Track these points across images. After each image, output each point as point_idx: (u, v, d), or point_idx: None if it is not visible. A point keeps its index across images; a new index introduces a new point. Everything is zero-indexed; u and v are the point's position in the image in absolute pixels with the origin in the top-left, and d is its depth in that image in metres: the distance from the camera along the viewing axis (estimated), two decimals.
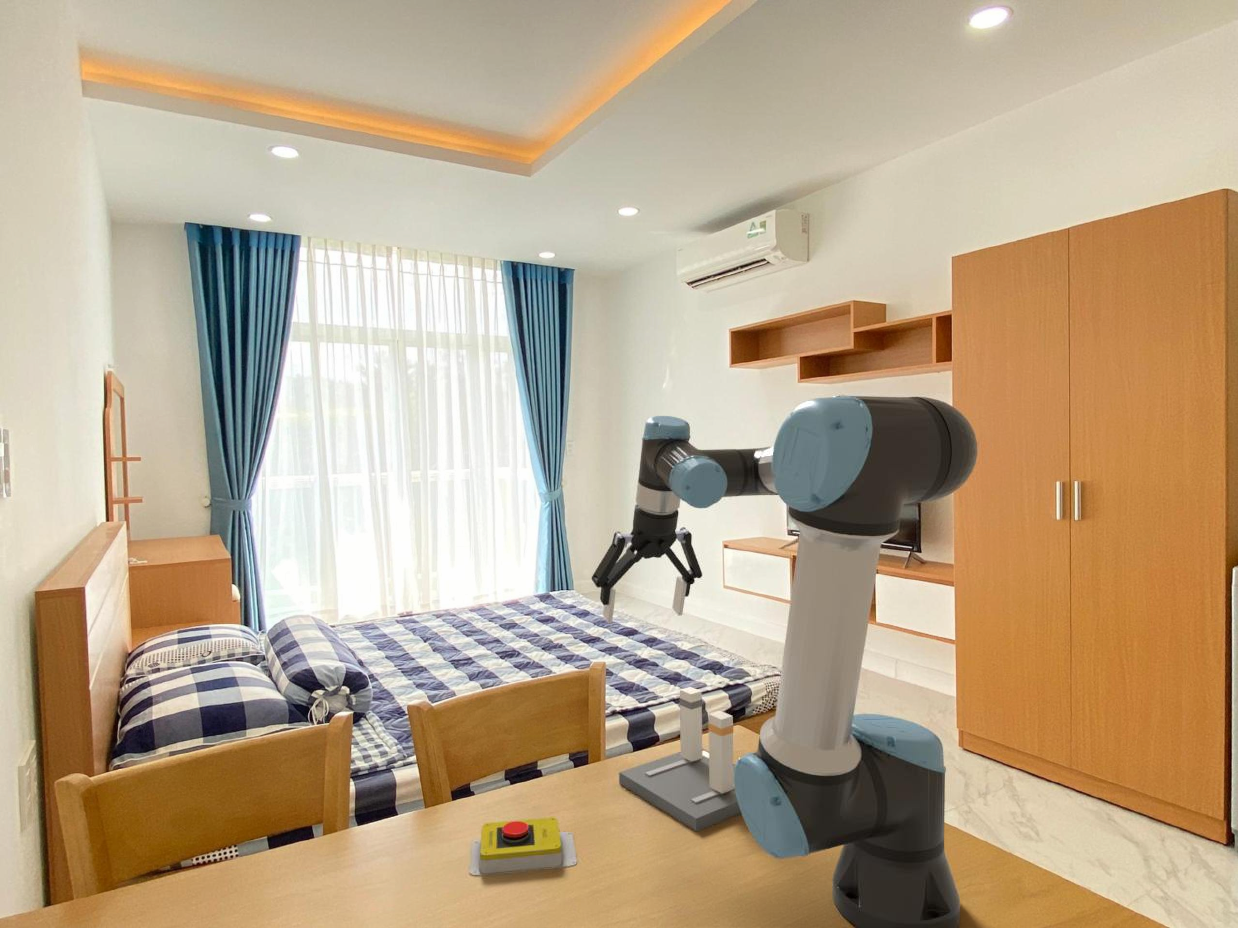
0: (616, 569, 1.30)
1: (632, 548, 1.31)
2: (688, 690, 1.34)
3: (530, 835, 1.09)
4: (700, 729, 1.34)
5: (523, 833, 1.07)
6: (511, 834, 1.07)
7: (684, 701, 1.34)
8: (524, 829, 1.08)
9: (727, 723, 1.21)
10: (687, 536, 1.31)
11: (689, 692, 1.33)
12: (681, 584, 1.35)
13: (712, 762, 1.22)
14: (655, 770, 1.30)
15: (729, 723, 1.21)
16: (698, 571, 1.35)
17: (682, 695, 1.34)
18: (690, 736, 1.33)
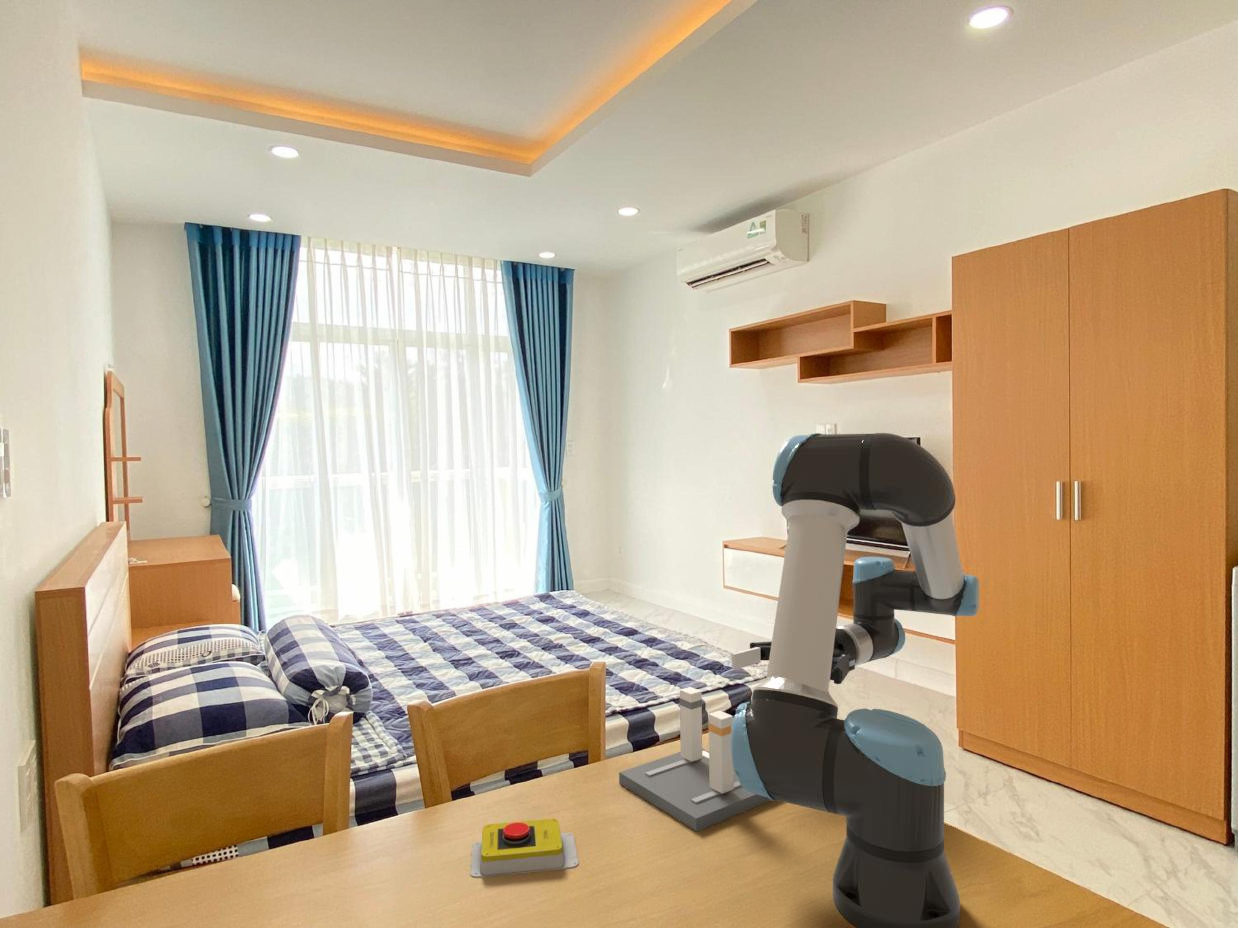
0: None
1: None
2: (688, 690, 1.34)
3: (531, 836, 1.08)
4: (700, 729, 1.34)
5: (524, 834, 1.07)
6: (512, 835, 1.07)
7: (684, 701, 1.34)
8: (525, 830, 1.08)
9: (727, 723, 1.21)
10: (849, 654, 1.32)
11: (689, 692, 1.33)
12: None
13: (712, 762, 1.22)
14: (655, 770, 1.30)
15: (729, 723, 1.21)
16: (839, 666, 1.25)
17: (682, 695, 1.34)
18: (690, 736, 1.33)
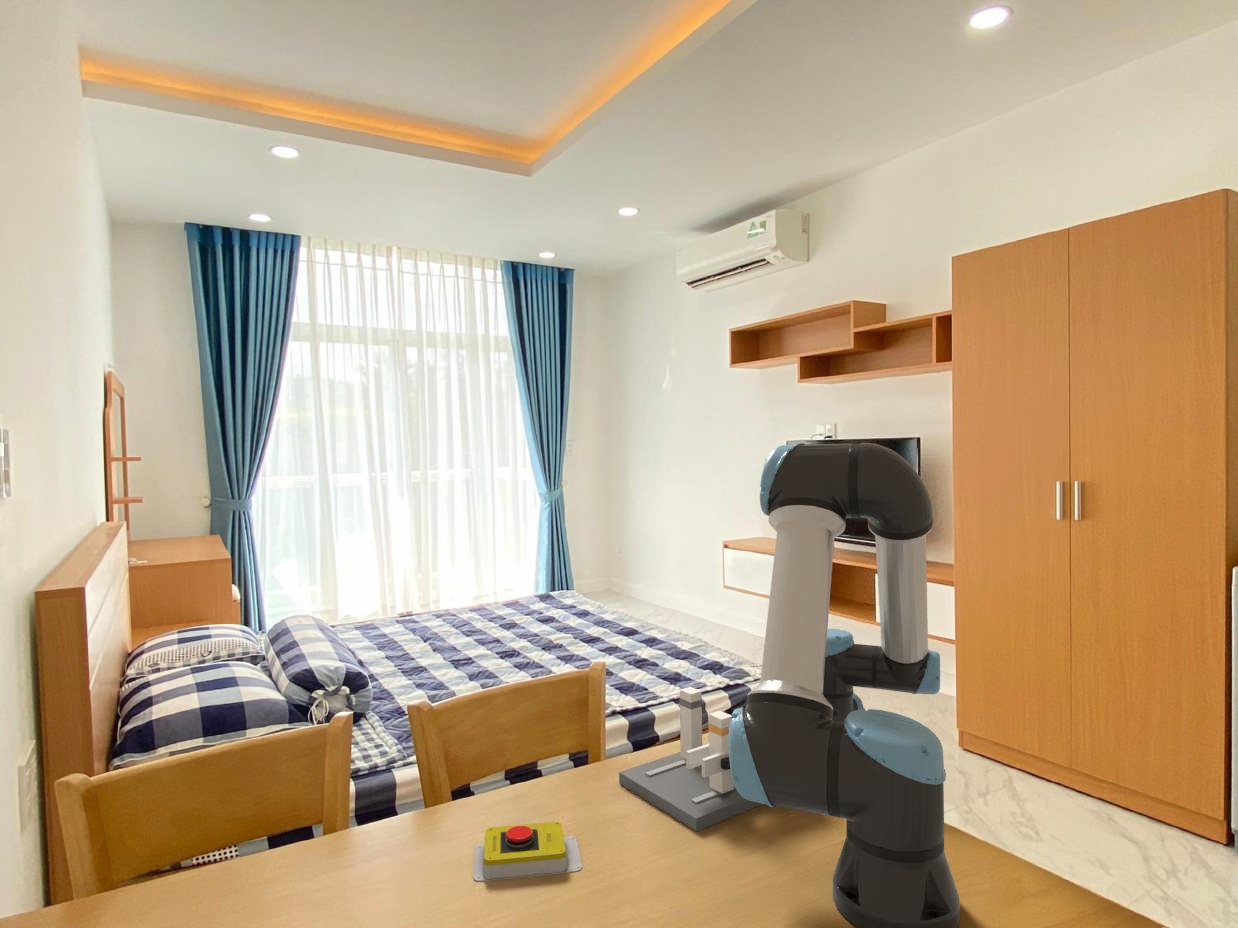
0: None
1: None
2: (688, 690, 1.34)
3: (534, 840, 1.07)
4: (700, 729, 1.34)
5: (527, 838, 1.06)
6: (515, 839, 1.06)
7: (684, 701, 1.34)
8: (528, 834, 1.07)
9: (727, 723, 1.21)
10: None
11: (689, 692, 1.33)
12: None
13: None
14: (655, 770, 1.30)
15: (729, 723, 1.21)
16: None
17: (682, 695, 1.34)
18: (690, 736, 1.33)
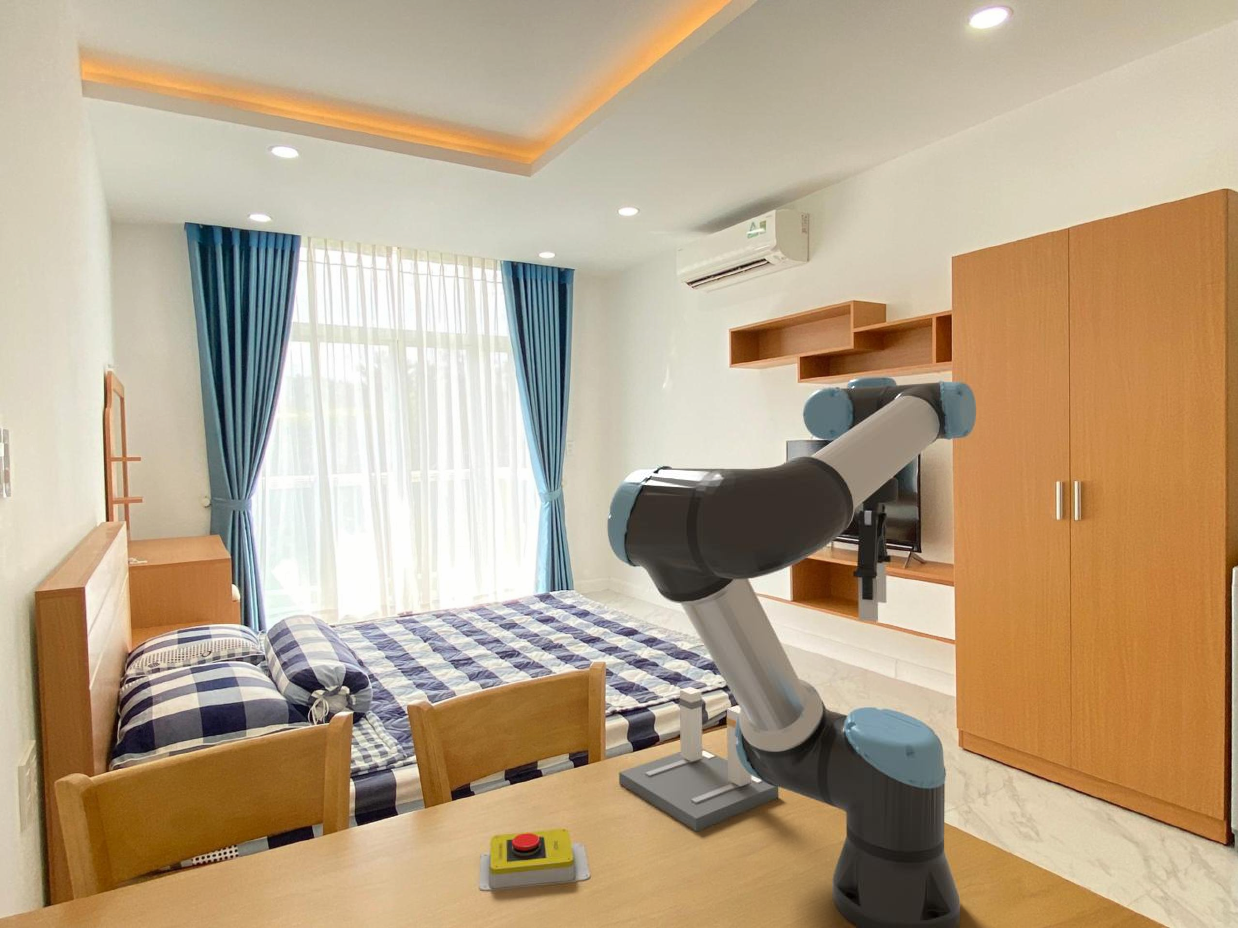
0: None
1: None
2: (688, 690, 1.34)
3: (541, 847, 1.05)
4: (700, 729, 1.34)
5: (534, 846, 1.04)
6: (522, 847, 1.04)
7: (684, 701, 1.34)
8: (535, 841, 1.05)
9: None
10: None
11: (689, 692, 1.33)
12: None
13: (730, 755, 1.25)
14: (655, 770, 1.30)
15: None
16: None
17: (682, 695, 1.34)
18: (690, 736, 1.33)
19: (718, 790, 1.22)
